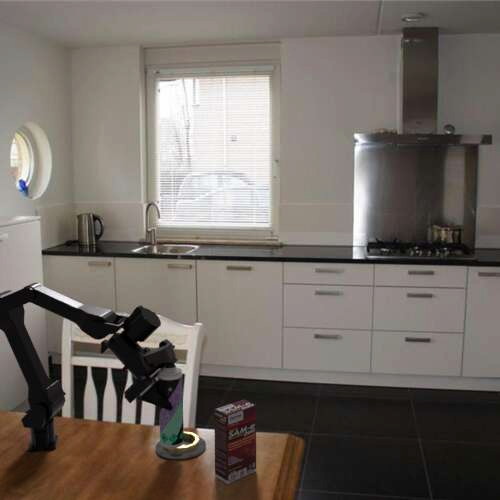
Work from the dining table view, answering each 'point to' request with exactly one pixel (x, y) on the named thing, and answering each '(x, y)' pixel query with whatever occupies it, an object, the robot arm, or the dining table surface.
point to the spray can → (174, 393)
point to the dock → (183, 448)
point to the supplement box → (235, 441)
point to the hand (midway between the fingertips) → (176, 404)
